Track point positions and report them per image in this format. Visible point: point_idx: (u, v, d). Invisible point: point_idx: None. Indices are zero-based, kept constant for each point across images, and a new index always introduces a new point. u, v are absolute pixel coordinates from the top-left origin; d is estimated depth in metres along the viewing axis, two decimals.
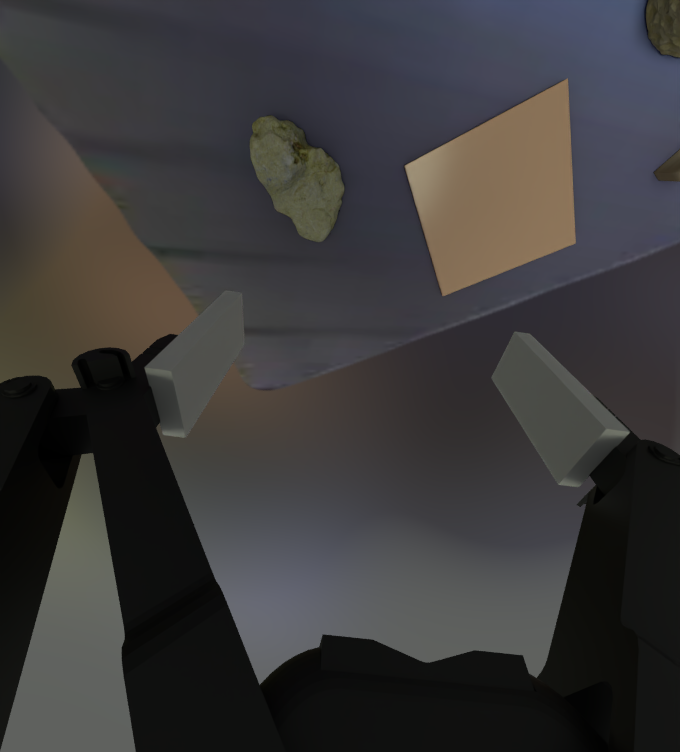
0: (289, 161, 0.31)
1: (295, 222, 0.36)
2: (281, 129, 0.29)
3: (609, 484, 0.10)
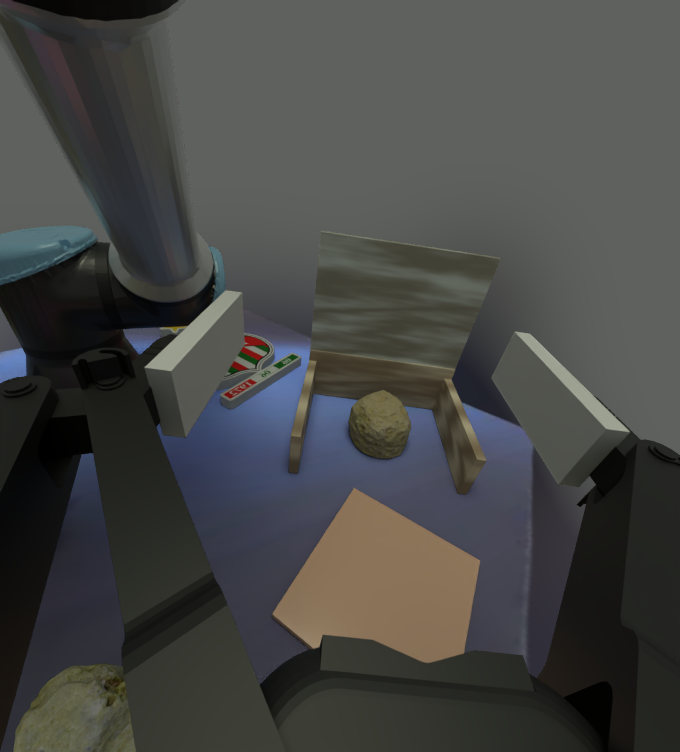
0: (96, 709, 0.20)
1: None
2: (85, 671, 0.21)
3: (609, 484, 0.10)
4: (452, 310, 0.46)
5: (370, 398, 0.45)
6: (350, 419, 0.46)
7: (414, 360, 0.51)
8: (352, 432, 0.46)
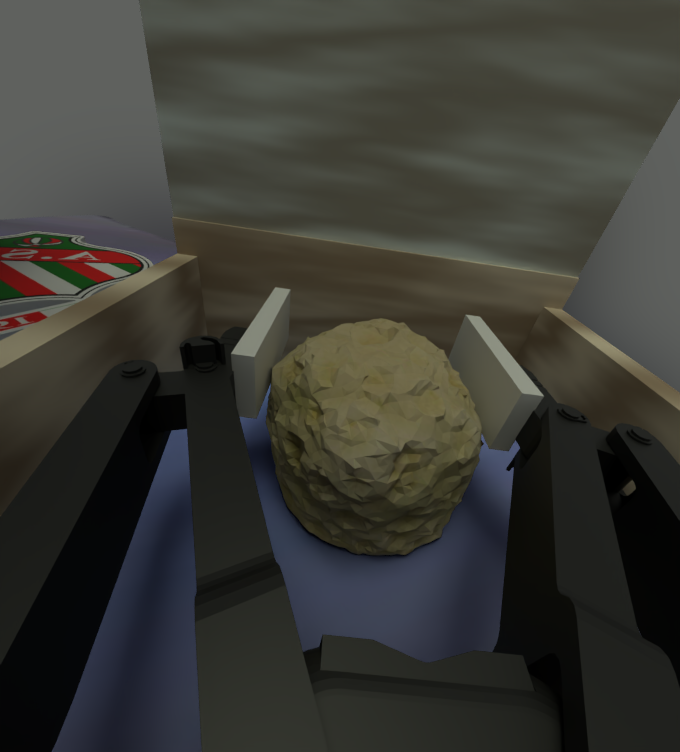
0: None
1: None
2: None
3: (530, 447, 0.10)
4: (623, 28, 0.13)
5: (334, 333, 0.12)
6: (268, 412, 0.13)
7: (467, 249, 0.18)
8: (275, 457, 0.13)
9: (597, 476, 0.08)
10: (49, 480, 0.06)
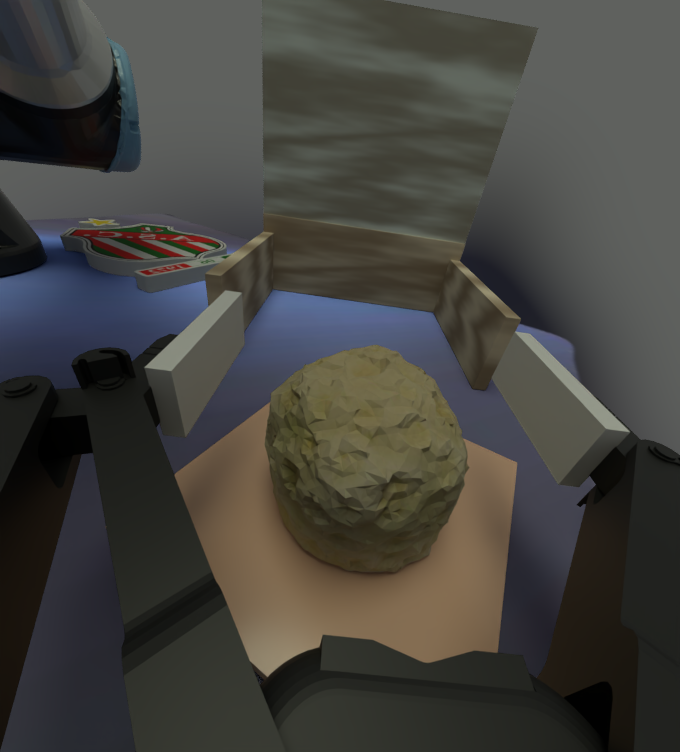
0: None
1: None
2: None
3: (609, 484, 0.10)
4: (463, 135, 0.32)
5: (329, 363, 0.13)
6: (267, 434, 0.14)
7: (408, 229, 0.37)
8: (272, 477, 0.14)
9: None
10: None
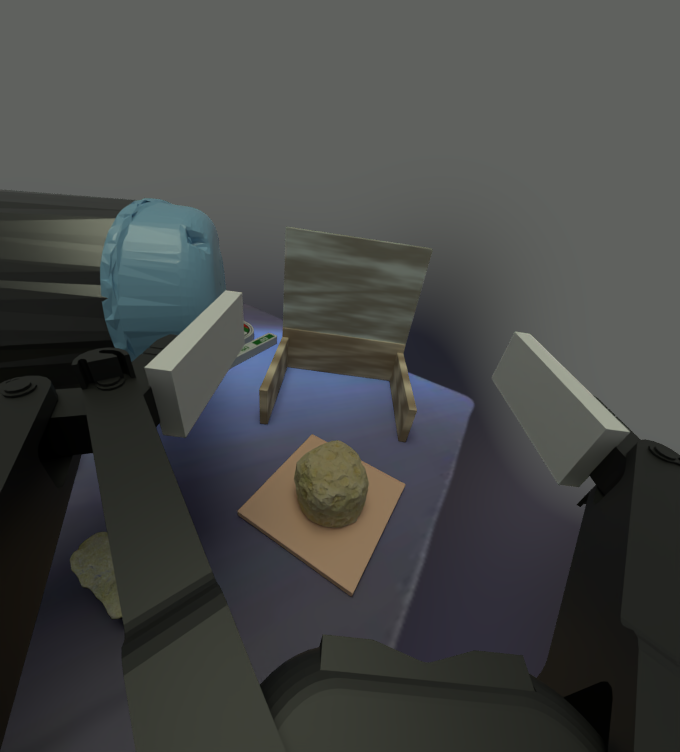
0: None
1: None
2: None
3: (609, 484, 0.10)
4: (398, 293, 0.55)
5: (317, 454, 0.37)
6: (295, 477, 0.38)
7: (370, 336, 0.60)
8: (297, 493, 0.38)
9: None
10: None
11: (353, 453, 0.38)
